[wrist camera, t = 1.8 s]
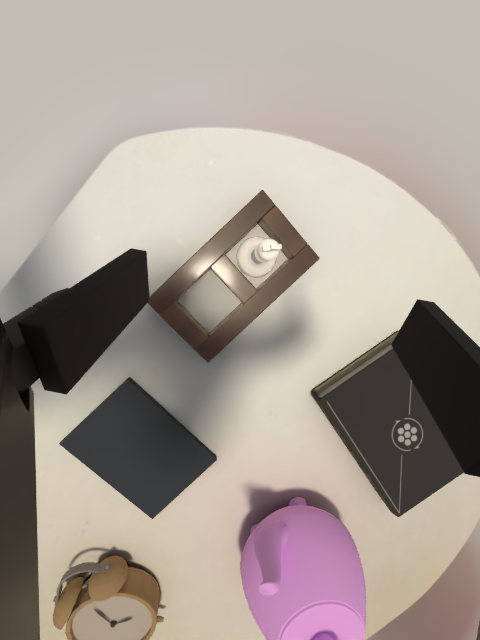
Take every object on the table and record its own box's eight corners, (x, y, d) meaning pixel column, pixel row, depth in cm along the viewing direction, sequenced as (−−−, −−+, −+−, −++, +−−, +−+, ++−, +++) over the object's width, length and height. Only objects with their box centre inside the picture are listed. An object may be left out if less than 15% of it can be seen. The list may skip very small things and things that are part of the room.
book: (308, 391, 36) (317, 401, 33) (398, 330, 36) (414, 334, 33) (383, 501, 40) (396, 519, 37) (464, 445, 40) (484, 458, 37)
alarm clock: (105, 671, 36) (17, 628, 31) (114, 622, 40) (39, 577, 35) (174, 626, 36) (98, 576, 31) (176, 582, 40) (110, 532, 35)
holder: (150, 299, 32) (145, 300, 30) (258, 196, 32) (262, 189, 29) (208, 357, 34) (208, 362, 31) (312, 260, 33) (319, 258, 31)
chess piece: (234, 239, 32) (242, 219, 22) (273, 235, 33) (299, 214, 23) (238, 279, 33) (249, 278, 23) (277, 275, 33) (303, 271, 23)
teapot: (199, 506, 37) (191, 637, 23) (291, 444, 37) (336, 538, 23) (282, 606, 40) (316, 768, 27) (365, 549, 40) (441, 683, 27)
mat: (62, 440, 34) (58, 443, 33) (129, 376, 33) (127, 379, 33) (153, 514, 36) (152, 519, 36) (216, 456, 36) (216, 460, 35)
